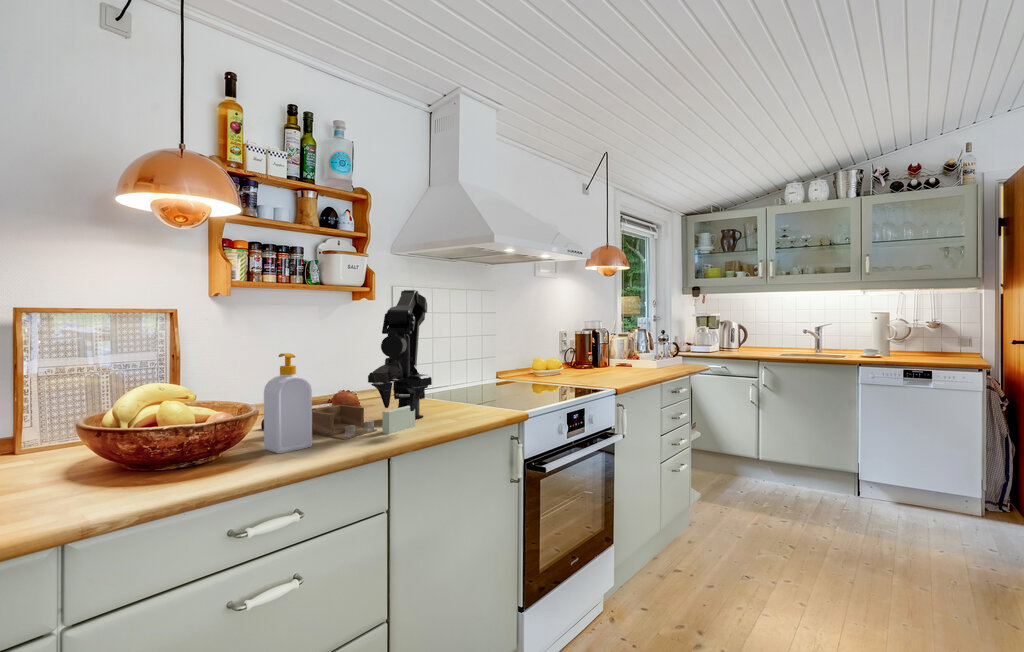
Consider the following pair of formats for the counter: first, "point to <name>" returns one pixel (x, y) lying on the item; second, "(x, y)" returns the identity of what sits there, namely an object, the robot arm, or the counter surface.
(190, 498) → the counter surface
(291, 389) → the soap bottle
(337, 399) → the orange-red spiky ball
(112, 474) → the counter surface
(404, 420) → the door
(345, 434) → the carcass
